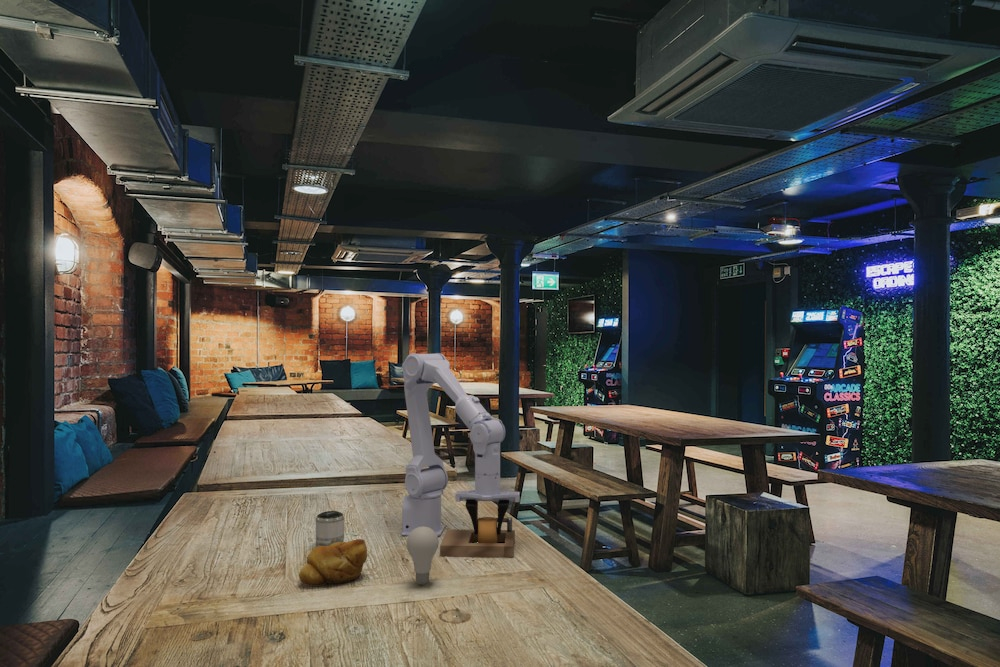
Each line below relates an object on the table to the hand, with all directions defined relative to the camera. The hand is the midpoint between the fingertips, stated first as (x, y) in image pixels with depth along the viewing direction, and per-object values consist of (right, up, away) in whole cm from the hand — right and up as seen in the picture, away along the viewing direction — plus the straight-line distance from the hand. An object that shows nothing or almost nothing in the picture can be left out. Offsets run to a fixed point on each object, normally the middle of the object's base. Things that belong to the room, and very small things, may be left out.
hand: (487, 533), depth 140 cm
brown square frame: (-2, -3, 0) cm, 4 cm away
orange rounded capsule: (0, -2, 0) cm, 2 cm away
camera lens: (-36, -4, +1) cm, 36 cm away
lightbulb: (-12, -3, -21) cm, 25 cm away
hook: (+2, -4, +5) cm, 6 cm away
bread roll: (-30, -3, -18) cm, 36 cm away
